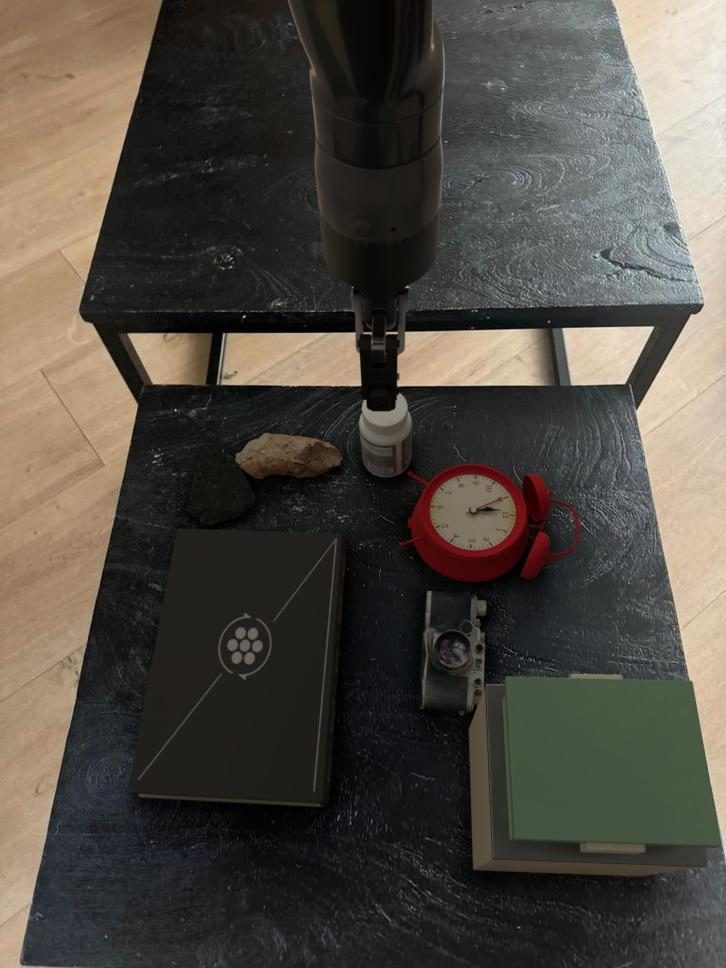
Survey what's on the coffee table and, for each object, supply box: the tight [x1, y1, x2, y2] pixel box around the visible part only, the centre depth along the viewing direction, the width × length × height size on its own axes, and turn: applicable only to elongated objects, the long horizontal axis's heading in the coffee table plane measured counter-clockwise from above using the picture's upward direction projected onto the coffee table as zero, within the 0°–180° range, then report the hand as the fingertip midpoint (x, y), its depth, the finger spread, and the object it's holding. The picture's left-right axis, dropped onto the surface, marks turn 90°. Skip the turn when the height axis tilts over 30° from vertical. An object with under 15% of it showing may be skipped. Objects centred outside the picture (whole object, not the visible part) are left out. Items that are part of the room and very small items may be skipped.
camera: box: [418, 590, 487, 717], centre depth 61 cm, size 5×10×4 cm, turn 173°
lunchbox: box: [502, 673, 722, 854], centre depth 44 cm, size 11×9×4 cm
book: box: [126, 528, 348, 809], centre depth 62 cm, size 22×15×3 cm
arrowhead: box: [187, 430, 256, 527], centre depth 72 cm, size 6×1×10 cm
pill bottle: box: [358, 392, 413, 478], centre depth 69 cm, size 5×5×8 cm
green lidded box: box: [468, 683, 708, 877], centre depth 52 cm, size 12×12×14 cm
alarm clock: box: [398, 463, 581, 583], centre depth 67 cm, size 10×6×15 cm
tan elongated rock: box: [234, 432, 343, 480], centre depth 72 cm, size 10×4×5 cm
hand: (382, 362), depth 60 cm, fingers open, 8 cm apart
